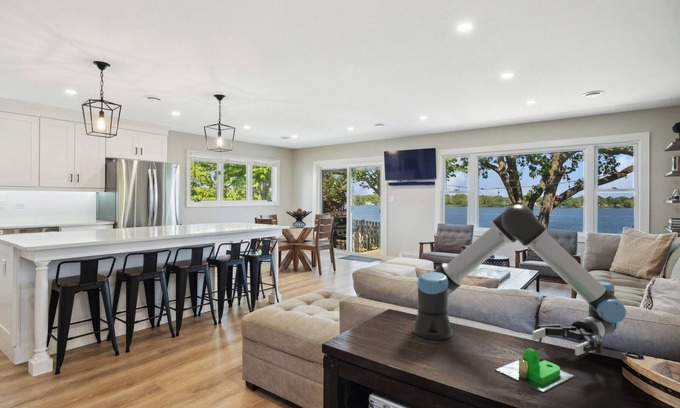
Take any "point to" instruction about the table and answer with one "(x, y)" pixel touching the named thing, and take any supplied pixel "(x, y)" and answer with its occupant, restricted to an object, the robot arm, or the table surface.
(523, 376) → the bolt plate
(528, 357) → the mechanical part
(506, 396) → the table surface
